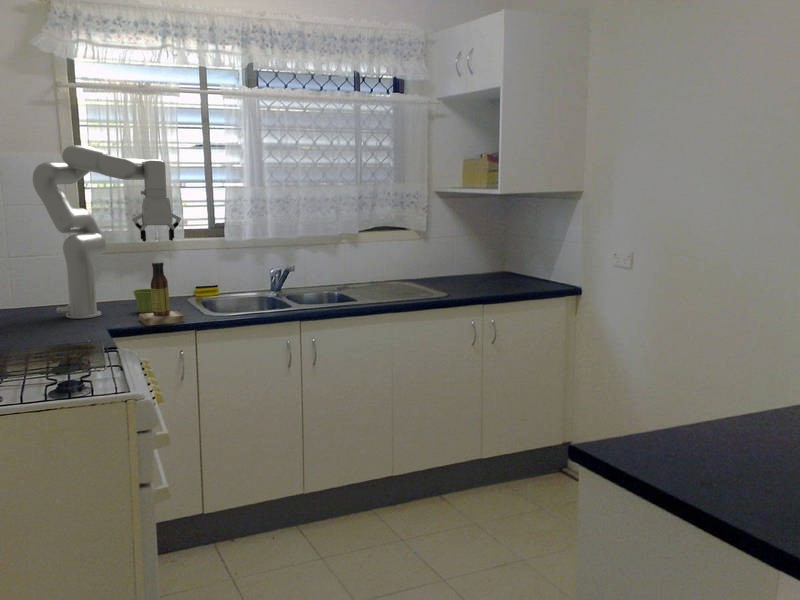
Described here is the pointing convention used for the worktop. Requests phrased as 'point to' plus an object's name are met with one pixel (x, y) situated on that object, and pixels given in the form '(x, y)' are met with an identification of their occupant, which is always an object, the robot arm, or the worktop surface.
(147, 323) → the board
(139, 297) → the plant pot
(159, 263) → the sauce bottle
